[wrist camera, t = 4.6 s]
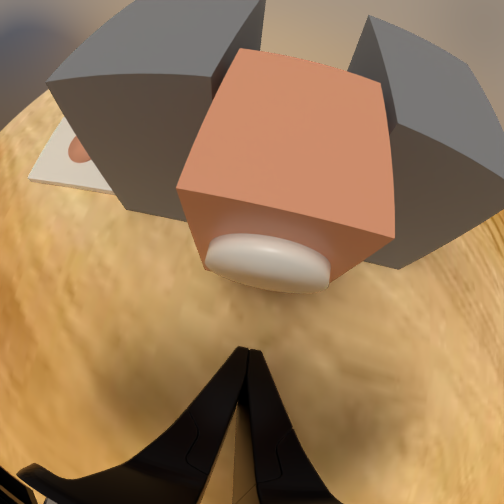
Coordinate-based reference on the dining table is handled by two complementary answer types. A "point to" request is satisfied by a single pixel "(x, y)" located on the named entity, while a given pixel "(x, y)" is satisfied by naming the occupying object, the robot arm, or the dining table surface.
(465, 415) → the dining table surface
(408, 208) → the button housing
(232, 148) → the push button
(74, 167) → the card
